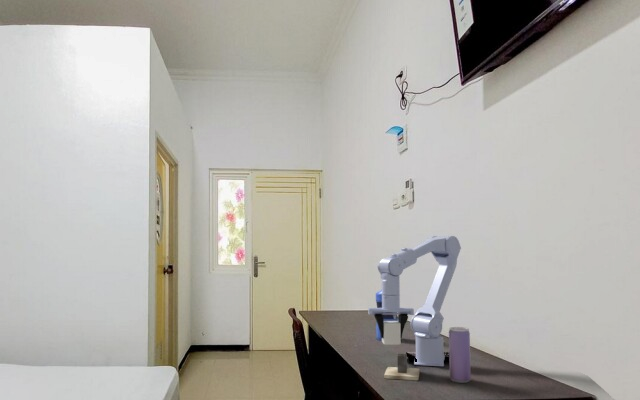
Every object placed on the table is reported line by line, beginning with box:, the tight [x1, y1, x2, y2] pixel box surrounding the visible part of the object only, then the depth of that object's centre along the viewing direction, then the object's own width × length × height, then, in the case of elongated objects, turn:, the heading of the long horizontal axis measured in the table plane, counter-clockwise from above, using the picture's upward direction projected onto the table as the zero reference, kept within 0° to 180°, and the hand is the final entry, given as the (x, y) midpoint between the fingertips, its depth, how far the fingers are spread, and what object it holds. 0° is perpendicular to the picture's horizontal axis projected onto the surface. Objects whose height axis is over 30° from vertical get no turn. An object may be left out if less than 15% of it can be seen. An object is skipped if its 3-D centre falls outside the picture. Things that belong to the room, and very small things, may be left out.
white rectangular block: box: [381, 321, 402, 346], centre depth 160 cm, size 5×5×7 cm
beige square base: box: [383, 353, 420, 381], centre depth 152 cm, size 10×10×6 cm
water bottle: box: [375, 289, 398, 342], centre depth 210 cm, size 9×9×25 cm
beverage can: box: [448, 326, 472, 384], centre depth 147 cm, size 6×6×15 cm
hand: (391, 337), depth 160 cm, fingers closed on white rectangular block, 5 cm apart
